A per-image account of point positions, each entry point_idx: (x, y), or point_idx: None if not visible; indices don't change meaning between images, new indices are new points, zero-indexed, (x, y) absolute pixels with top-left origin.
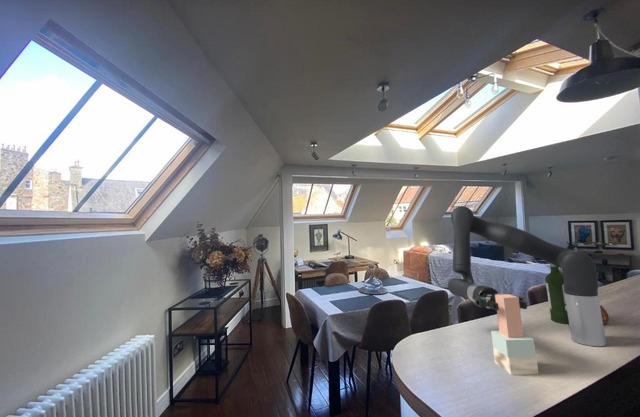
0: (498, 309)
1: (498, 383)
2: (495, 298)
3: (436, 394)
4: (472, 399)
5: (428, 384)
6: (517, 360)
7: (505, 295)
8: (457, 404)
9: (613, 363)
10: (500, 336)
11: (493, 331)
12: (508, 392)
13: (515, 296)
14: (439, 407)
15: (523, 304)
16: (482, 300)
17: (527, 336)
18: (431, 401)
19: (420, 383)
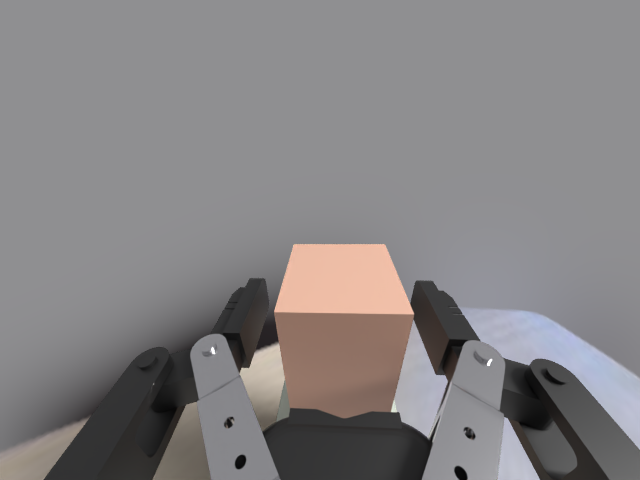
0: (411, 304)
1: (422, 381)
2: (407, 337)
3: (560, 352)
4: (483, 333)
5: (603, 393)
6: None
7: (337, 281)
8: (508, 323)
9: (6, 466)
10: (392, 407)
11: None
12: (411, 347)
13: (294, 255)
14: (537, 319)
15: (265, 289)
16: (532, 362)
17: (284, 389)
18: (559, 333)
19: (630, 400)
